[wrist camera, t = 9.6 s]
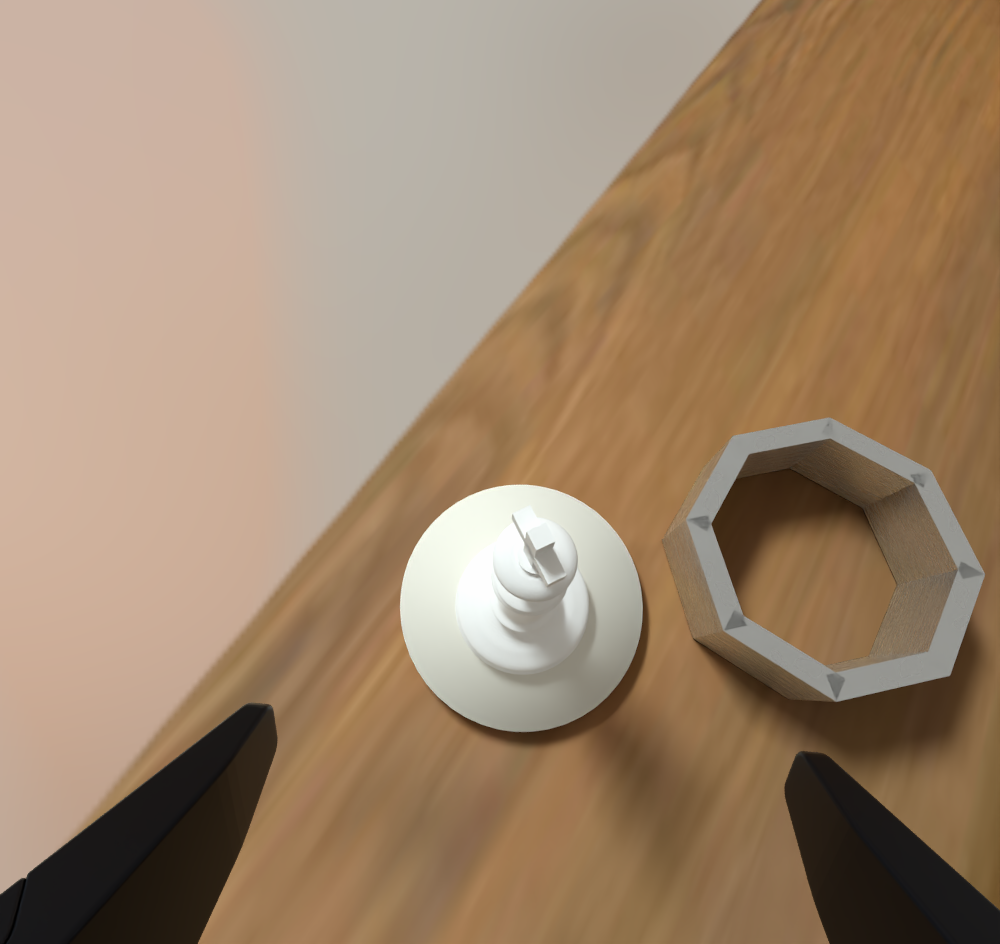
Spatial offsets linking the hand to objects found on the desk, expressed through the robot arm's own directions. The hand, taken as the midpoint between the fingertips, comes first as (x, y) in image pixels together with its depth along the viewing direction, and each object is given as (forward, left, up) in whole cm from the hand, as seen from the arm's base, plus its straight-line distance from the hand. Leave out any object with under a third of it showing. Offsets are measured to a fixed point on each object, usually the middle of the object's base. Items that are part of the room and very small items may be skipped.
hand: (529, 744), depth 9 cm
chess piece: (+3, +2, -10) cm, 11 cm away
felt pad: (+3, +2, -11) cm, 12 cm away
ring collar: (+10, -6, -11) cm, 16 cm away
